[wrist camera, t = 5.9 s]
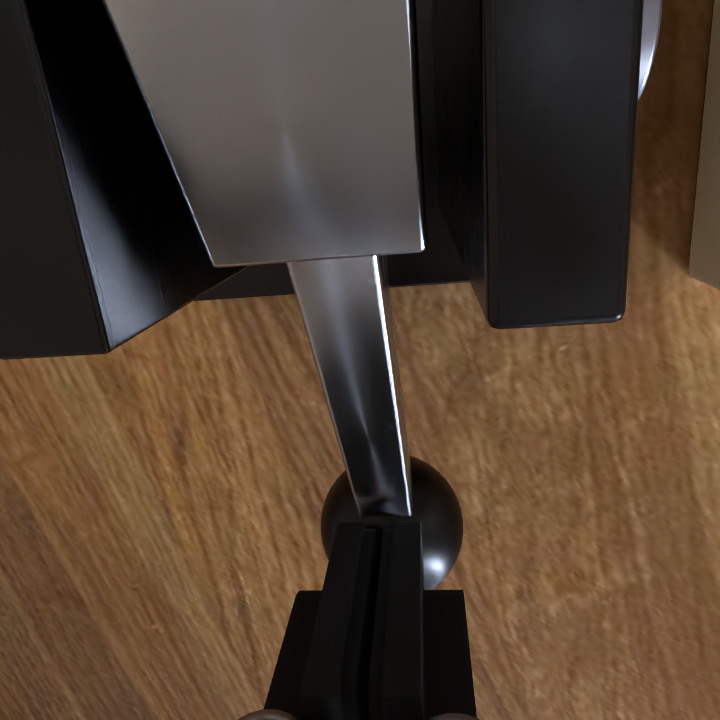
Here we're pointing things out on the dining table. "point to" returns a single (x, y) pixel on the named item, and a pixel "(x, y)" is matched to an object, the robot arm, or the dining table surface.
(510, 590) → the dining table surface
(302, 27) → the lever
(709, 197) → the toaster
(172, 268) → the lever bracket
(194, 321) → the dining table surface
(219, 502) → the dining table surface
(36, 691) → the dining table surface
